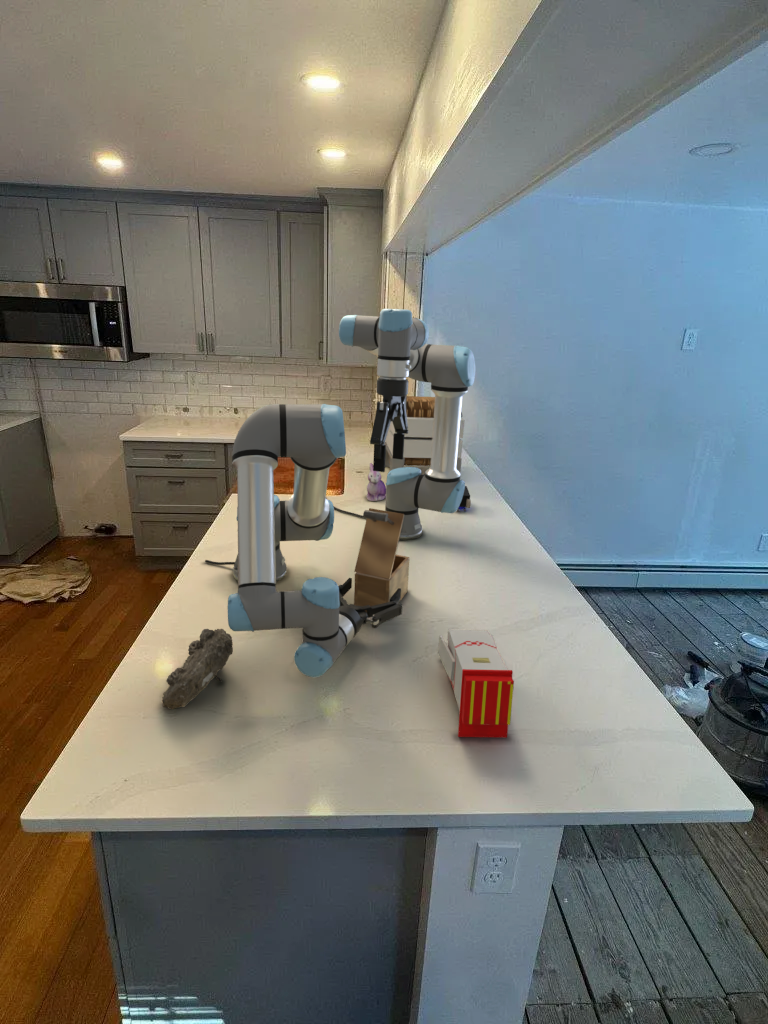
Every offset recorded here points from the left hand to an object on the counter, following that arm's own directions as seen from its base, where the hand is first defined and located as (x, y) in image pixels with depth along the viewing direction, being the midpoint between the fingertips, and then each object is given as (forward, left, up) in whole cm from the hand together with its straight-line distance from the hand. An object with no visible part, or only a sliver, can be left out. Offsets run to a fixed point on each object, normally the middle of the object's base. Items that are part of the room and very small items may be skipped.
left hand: (374, 587), depth 147 cm
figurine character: (+1, +91, -7) cm, 92 cm away
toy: (+31, -23, -7) cm, 39 cm away
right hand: (0, +6, +31) cm, 32 cm away
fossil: (-22, -42, -7) cm, 48 cm away
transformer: (-29, +132, -7) cm, 135 cm away
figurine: (-33, +86, -7) cm, 93 cm away
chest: (0, +6, -7) cm, 9 cm away
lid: (0, +2, +11) cm, 12 cm away
